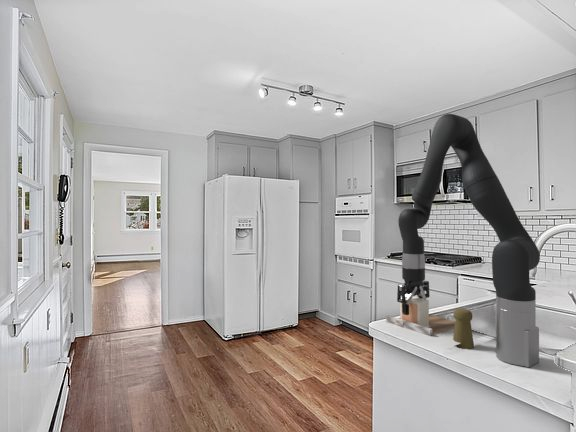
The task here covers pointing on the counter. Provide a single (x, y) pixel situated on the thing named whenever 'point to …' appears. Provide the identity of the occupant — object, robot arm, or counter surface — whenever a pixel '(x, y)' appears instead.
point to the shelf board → (434, 326)
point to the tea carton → (417, 311)
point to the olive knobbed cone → (463, 329)
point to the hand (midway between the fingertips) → (413, 312)
